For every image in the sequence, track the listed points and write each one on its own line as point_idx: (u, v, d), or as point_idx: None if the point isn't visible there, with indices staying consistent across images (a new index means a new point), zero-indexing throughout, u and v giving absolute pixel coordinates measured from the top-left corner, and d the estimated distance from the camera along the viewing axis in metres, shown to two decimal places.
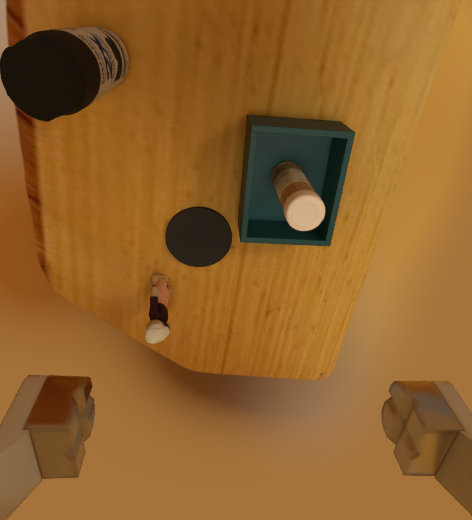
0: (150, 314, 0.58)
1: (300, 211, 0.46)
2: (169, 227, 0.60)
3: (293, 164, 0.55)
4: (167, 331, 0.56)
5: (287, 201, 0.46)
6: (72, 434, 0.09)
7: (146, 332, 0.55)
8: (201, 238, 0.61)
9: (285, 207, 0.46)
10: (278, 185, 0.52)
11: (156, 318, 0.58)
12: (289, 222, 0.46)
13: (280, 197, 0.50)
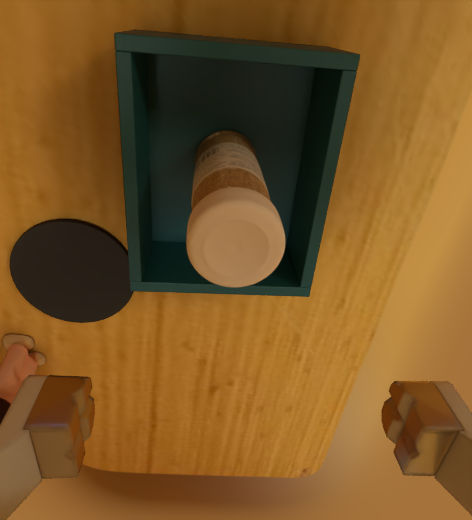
0: None
1: (221, 242, 0.18)
2: (14, 256, 0.32)
3: (235, 136, 0.28)
4: None
5: (191, 216, 0.19)
6: (72, 434, 0.09)
7: None
8: (78, 275, 0.34)
9: (187, 231, 0.19)
10: (194, 177, 0.24)
11: None
12: (197, 268, 0.19)
13: (192, 204, 0.22)
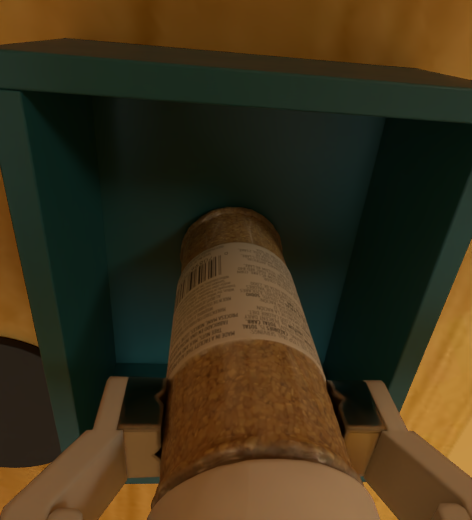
0: None
1: None
2: None
3: (248, 219, 0.16)
4: None
5: None
6: (161, 434, 0.09)
7: None
8: (4, 411, 0.22)
9: None
10: (174, 322, 0.13)
11: None
12: None
13: None
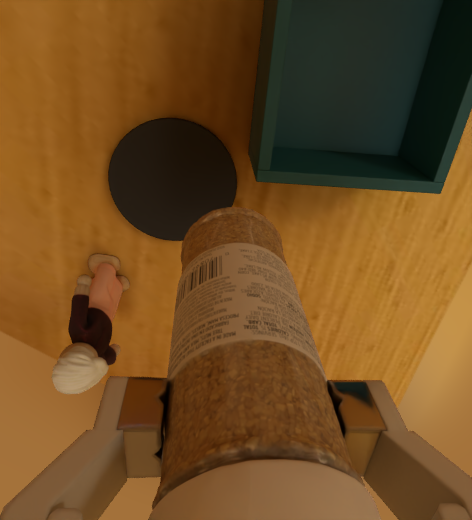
0: (71, 331, 0.28)
1: None
2: (114, 160, 0.31)
3: (249, 219, 0.16)
4: (102, 368, 0.27)
5: None
6: (161, 434, 0.09)
7: (54, 372, 0.26)
8: (178, 184, 0.32)
9: None
10: (175, 322, 0.13)
11: (82, 339, 0.28)
12: None
13: None
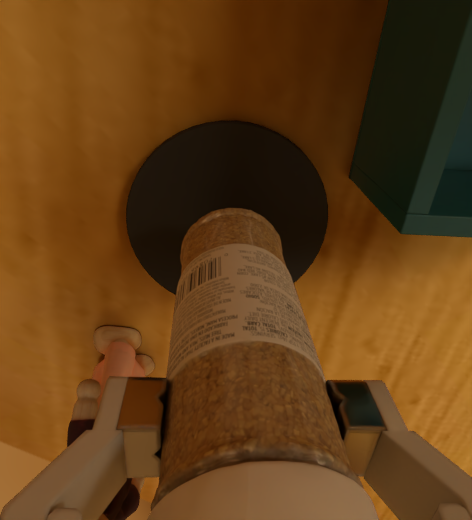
0: None
1: None
2: (137, 189, 0.19)
3: (248, 220, 0.16)
4: None
5: None
6: (160, 434, 0.09)
7: None
8: None
9: None
10: (174, 323, 0.13)
11: None
12: None
13: None
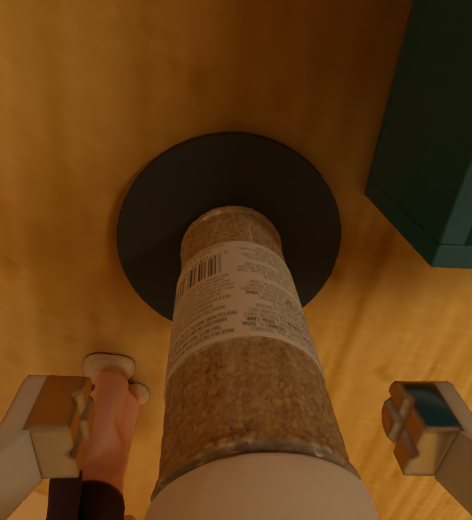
0: None
1: None
2: (128, 208, 0.17)
3: (248, 218, 0.16)
4: None
5: None
6: (72, 434, 0.09)
7: None
8: None
9: None
10: (174, 319, 0.13)
11: None
12: None
13: (165, 398, 0.11)
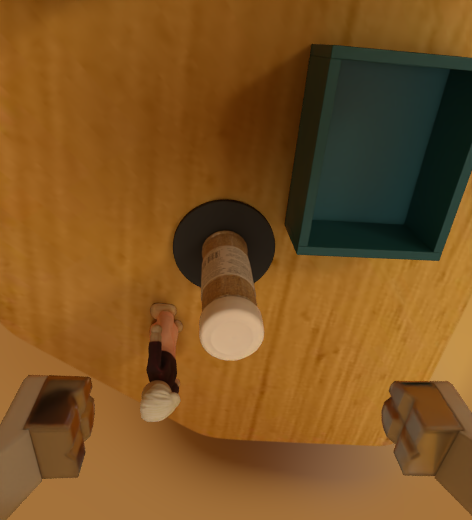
0: (149, 371, 0.36)
1: (222, 334, 0.28)
2: (179, 232, 0.39)
3: (231, 236, 0.38)
4: (177, 401, 0.34)
5: (202, 315, 0.28)
6: (72, 434, 0.09)
7: (142, 405, 0.33)
8: None
9: (199, 325, 0.28)
10: (202, 274, 0.34)
11: (158, 377, 0.36)
12: (206, 349, 0.28)
13: (201, 297, 0.32)
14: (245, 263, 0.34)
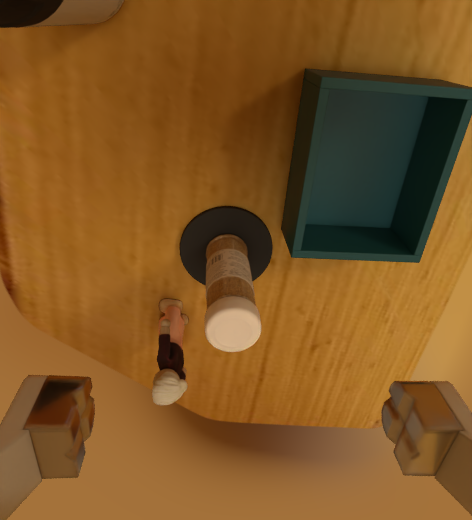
0: (159, 360, 0.40)
1: (225, 329, 0.32)
2: (185, 235, 0.43)
3: (233, 239, 0.42)
4: (184, 387, 0.39)
5: (207, 313, 0.33)
6: (71, 434, 0.09)
7: (154, 390, 0.38)
8: None
9: (205, 321, 0.33)
10: (207, 275, 0.38)
11: (168, 366, 0.40)
12: (211, 342, 0.33)
13: (206, 296, 0.36)
14: (245, 265, 0.38)
